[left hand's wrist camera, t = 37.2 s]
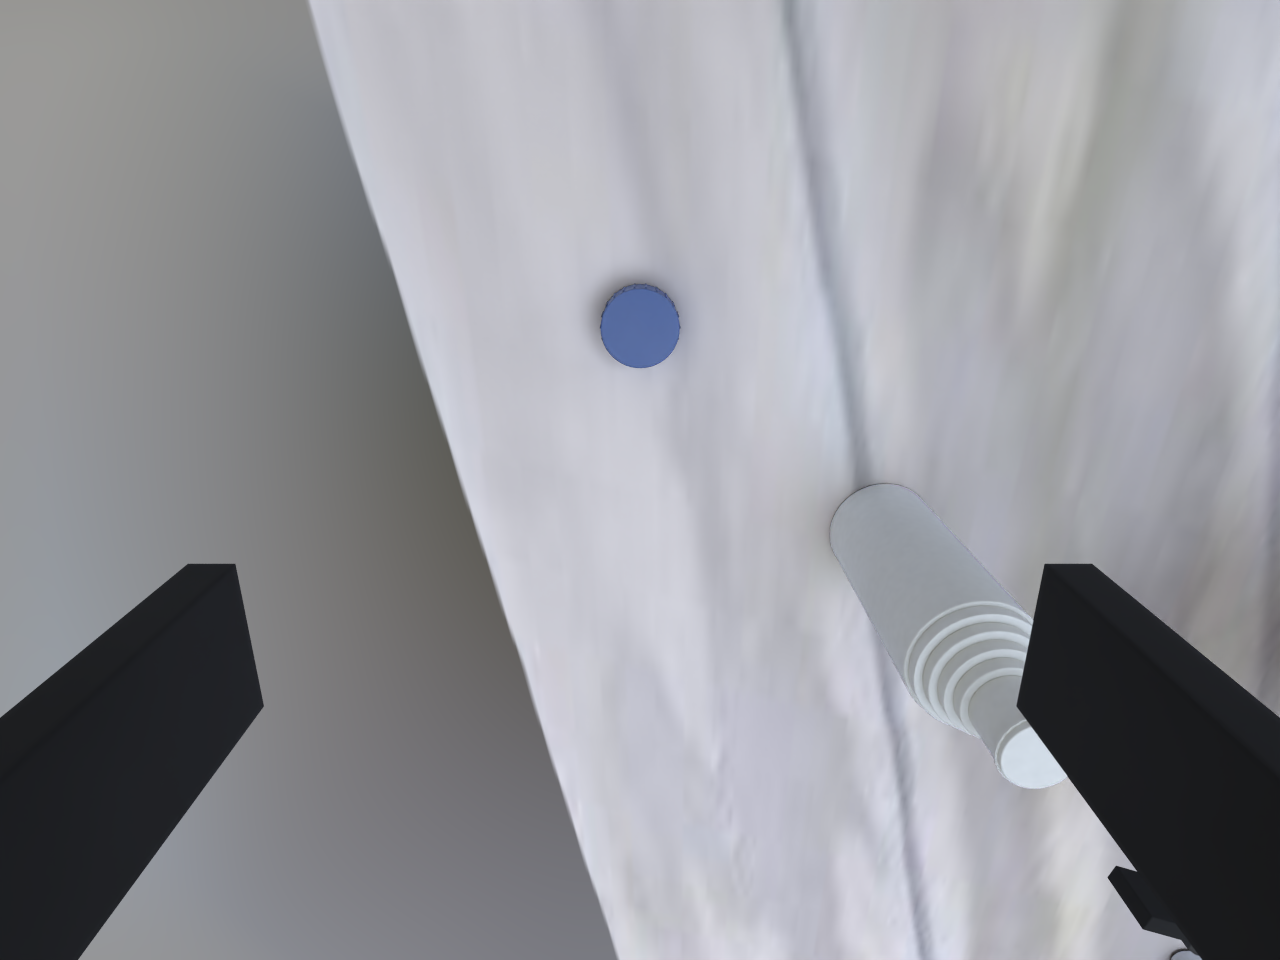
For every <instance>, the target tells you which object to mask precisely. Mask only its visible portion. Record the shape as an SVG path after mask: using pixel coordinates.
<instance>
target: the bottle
mask: <svg viewBox="0 0 1280 960" xmlns="http://www.w3.org/2000/svg"><path fill="white" fill-rule="evenodd" d="M830 543H831V547H832V550H833V552H834V554H835V556H836V558H837V560H838V561H839V563H840V565H841V567H842V569H843V571H844V573H845V574H846V576H847V578H848V580H849V582H850V584H851V586H852V587H853V589H854V591H855V593H856V595H857V597H858V599H859V600H860V602H861V604H862V606H863V608H864V610H865V612H866V613H867V615H868V617H869V619H870V621H871V623H872V625H873V626H874V628H875V630H876V632H877V634H878V636H879V638H880V639H881V641H882V643H883V645H884V647H885V649H886V651H887V652H888V654H889V656H890V658H891V660H892V662H893V664H894V665H895V667H896V669H897V671H898V673H899V675H900V676H901V678H902V680H903V682H904V684H905V686H906V688H907V689H908V691H909V693H910V695H911V696H912V698H913V699H914V700H915V702H916V703H918V704H919V705H920V706H921V707H922V708H923V709H924V710H925V711H926V712H927V713H928V714H929V715H931V716H932V717H933V718H935V719H936V720H938V721H940V722H942V723H944V724H947V725H949V726H952V727H954V728H956V729H959V730H961V731H963V732H965V733H967V734H970V735H972V736H975V737H977V738H979V739H981V740H982V741H983V742H984V744H985V746H986V747H987V749H988V750H989V752H990V754H991V755H992V757H993V758H994V762H995V764H996V767H997V769H998V771H999V772H1000V773H1001V775H1002V776H1003V777H1004V778H1005V779H1006V780H1008V781H1010V782H1011V783H1013V784H1015V785H1017V786H1020V787H1023V788H1029V789H1040V788H1046V787H1050V786H1053V785H1055V784H1057V783H1059V782H1061V781H1063V780H1064V779H1066V778H1067V777H1068V776H1067V775H1066V773H1065V772H1064V771H1063V769H1062V768H1061V767H1060V765H1059V764H1058V763H1057V761H1056V760H1055V758H1054V757H1053V756H1052V754H1051V753H1050V752H1049V750H1048V749H1047V748H1046V746H1045V745H1044V743H1043V742H1042V741H1041V739H1040V738H1039V737H1038V735H1037V734H1036V733H1035V731H1034V730H1033V728H1032V727H1031V726H1030V724H1029V723H1028V722H1027V720H1026V719H1025V718H1024V716H1023V715H1022V713H1021V712H1020V711H1019V709H1018V708H1017V707H1016V705H1017V700H1018V695H1019V690H1020V685H1021V680H1022V675H1023V670H1024V665H1025V660H1026V655H1027V650H1028V645H1029V640H1030V635H1031V630H1032V625H1033V619H1032V618H1031V617H1030V616H1029V615H1028V614H1027V613H1026V611H1025V610H1024V609H1023V608H1022V607H1021V606H1020V605H1019V604H1018V603H1017V602H1016V601H1015V600H1014V598H1013V597H1012V596H1011V595H1010V594H1009V593H1008V592H1007V591H1006V590H1005V589H1004V588H1003V587H1002V585H1001V584H1000V583H999V582H998V581H997V580H996V579H995V578H994V577H993V576H992V575H991V573H990V572H989V571H988V570H987V569H986V568H985V567H984V566H983V565H982V564H981V563H980V562H979V560H978V559H977V558H976V557H975V556H974V555H973V554H972V553H971V552H970V551H969V550H968V549H967V547H966V546H965V545H964V544H963V543H962V542H961V541H960V540H959V539H958V538H957V537H956V536H955V534H954V533H953V532H952V531H951V530H950V529H949V528H948V527H947V526H946V525H945V524H944V523H943V521H942V520H941V519H940V518H939V517H938V516H937V515H936V514H935V513H934V512H933V511H932V509H931V508H930V507H929V506H928V505H927V504H926V503H925V502H924V501H923V500H922V499H921V498H920V497H919V496H918V495H917V494H916V493H915V492H913V491H912V490H910V489H908V488H905V487H903V486H900V485H895V484H877V485H872V486H868V487H866V488H863V489H861V490H859V491H857V492H855V493H854V494H852V495H851V496H850V497H848V498H847V499H846V500H845V501H844V502H843V503H842V504H841V506H840V507H839V508H838V510H837V511H836V513H835V515H834V517H833V520H832V523H831V527H830Z"/></svg>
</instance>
